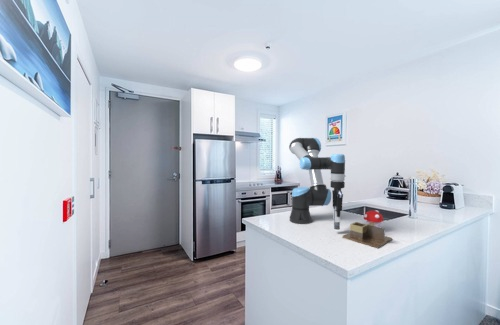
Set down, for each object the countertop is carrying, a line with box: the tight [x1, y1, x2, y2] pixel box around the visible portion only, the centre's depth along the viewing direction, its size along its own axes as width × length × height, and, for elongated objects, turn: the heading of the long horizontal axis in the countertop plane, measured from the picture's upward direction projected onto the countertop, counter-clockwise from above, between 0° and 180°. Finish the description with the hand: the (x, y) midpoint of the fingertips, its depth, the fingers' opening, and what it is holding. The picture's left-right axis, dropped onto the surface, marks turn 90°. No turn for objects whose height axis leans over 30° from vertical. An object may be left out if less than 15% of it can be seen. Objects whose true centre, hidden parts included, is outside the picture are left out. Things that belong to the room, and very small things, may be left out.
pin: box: [333, 206, 341, 231], centre depth 124 cm, size 3×3×13 cm
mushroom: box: [363, 209, 385, 228], centre depth 130 cm, size 11×11×12 cm
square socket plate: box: [341, 221, 393, 249], centre depth 116 cm, size 18×18×8 cm
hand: (336, 220), depth 124 cm, fingers closed on pin, 3 cm apart
